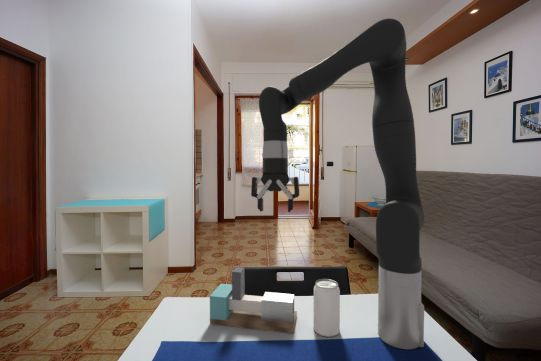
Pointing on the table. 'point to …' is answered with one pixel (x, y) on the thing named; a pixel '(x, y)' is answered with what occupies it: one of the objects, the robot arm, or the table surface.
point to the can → (326, 308)
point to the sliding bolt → (242, 294)
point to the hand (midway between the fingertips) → (275, 211)
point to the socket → (220, 302)
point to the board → (254, 322)
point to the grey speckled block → (277, 307)
